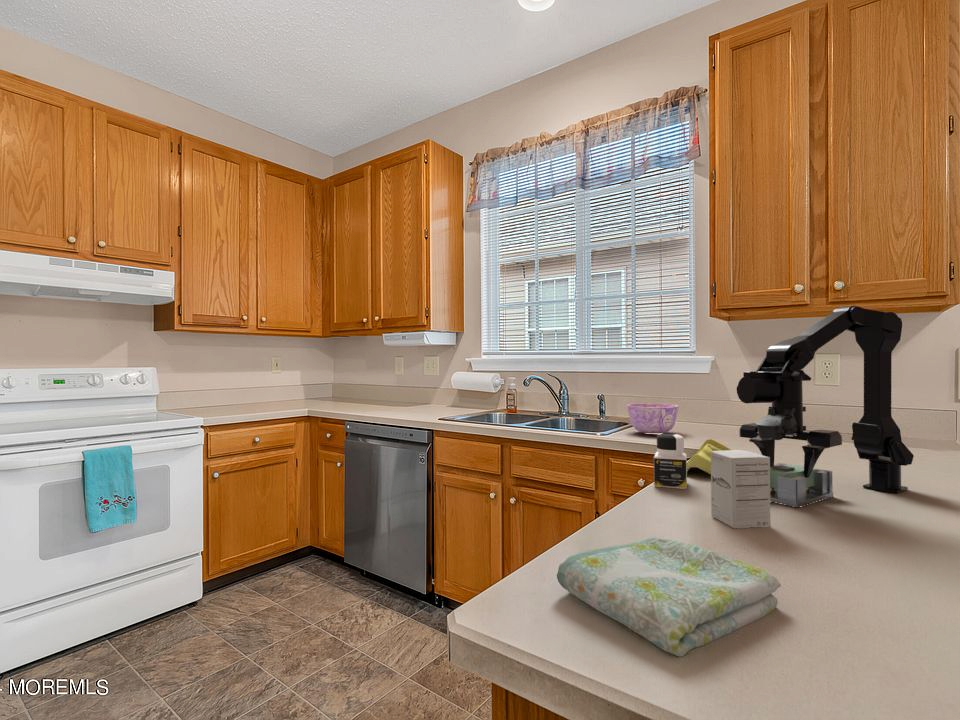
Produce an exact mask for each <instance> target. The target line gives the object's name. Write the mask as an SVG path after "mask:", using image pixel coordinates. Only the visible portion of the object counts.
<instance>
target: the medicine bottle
mask: <svg viewBox="0 0 960 720" xmlns="http://www.w3.org/2000/svg"><path fill="white" fill-rule="evenodd" d="M684 439H685V438H684V436H682V435H681V434H675V433H664V434H661V435H656V452H655V453H654V455H653V482H654V483H653V485H654V487H656V488H668V489H669V488H670V489H681V490H686V489H687V487H688V478H687V477H688V471H687V463H688V461H687V458H688V457H687V453H685V448H684V447H685V446H684V445H685V443H684V442H685V440H684Z"/></svg>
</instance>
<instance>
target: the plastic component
mask: <svg viewBox="0 0 960 720" xmlns="http://www.w3.org/2000/svg"><path fill="white" fill-rule="evenodd" d="M725 450H732V449H731V448H730V447H728V446H726V445H725V444H723V443H721V442H719V441H717V440H715V439H712V438H707V439H705V441H704V443H702V445H701V446H700V448H698V450H697V451H696V453H695V454H693V455H692V456H691V457H690V459H689V460H688V461H687V472H688V471H689V470H690V469H691V468H692V467H696V468H698V469H699V470H701V471H703V472H705V473H707V474H709V475H711V451H725Z"/></svg>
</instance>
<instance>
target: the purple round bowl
mask: <svg viewBox="0 0 960 720" xmlns="http://www.w3.org/2000/svg"><path fill="white" fill-rule="evenodd" d="M626 408H627V411H628V415H629V419H630V424H631V426H632V427H633V428H634V429H635V430H636V431H638V432H641V433H642V432H643V433H664V434H666V433H667V432H670V431H671V430H673V428H674V427H675V424H676V421H677V418H678V417H677V416H678V412H679V408H680V406H679V405H678V404H672V403H656V402H655V403H652V402H651V403H648V402H647V403H646V402H644V403H642V402H641V403H640V402H639V403H628V404H626Z"/></svg>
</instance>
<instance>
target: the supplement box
mask: <svg viewBox="0 0 960 720" xmlns="http://www.w3.org/2000/svg"><path fill="white" fill-rule="evenodd" d="M710 487H711V489H710V495H711V496H710V499H711V500H710V503H711V505H710V507H711V508H710V509H711V517H712V518H715V519H717V520H718V521H720V522H722V523H724V524H726V526H729V527H731V528H732V529H734V528H737V529H751V528H750V527H762V528H766V527H765V526H770V527H771V525H772V524H771V523H772V522H771V502H770V457H767V456H763V455H762V454H759V453H755V452H753V451H749V450H746V449H731V450H725V451H711V474H710Z"/></svg>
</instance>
